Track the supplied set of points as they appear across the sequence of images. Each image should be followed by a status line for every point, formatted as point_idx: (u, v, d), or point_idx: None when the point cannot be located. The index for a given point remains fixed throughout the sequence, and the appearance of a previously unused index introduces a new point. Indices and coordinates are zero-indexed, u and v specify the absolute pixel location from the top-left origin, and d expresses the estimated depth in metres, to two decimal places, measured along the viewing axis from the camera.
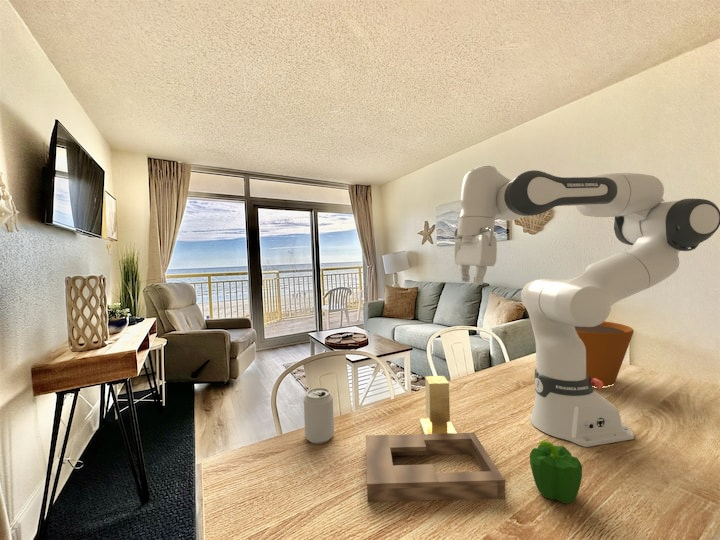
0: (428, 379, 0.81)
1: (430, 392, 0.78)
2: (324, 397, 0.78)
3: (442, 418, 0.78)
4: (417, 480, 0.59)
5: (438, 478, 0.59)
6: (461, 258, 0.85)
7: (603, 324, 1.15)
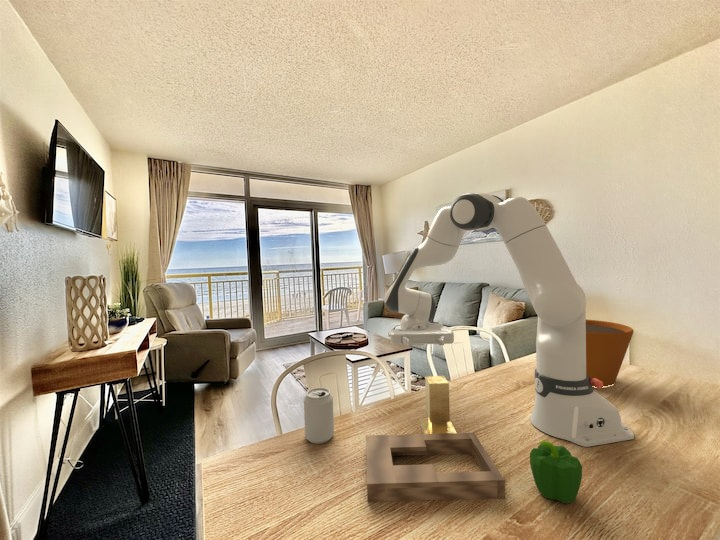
0: (428, 379, 0.81)
1: (430, 392, 0.78)
2: (324, 397, 0.78)
3: (442, 418, 0.78)
4: (417, 480, 0.59)
5: (438, 478, 0.59)
6: None
7: (603, 324, 1.15)
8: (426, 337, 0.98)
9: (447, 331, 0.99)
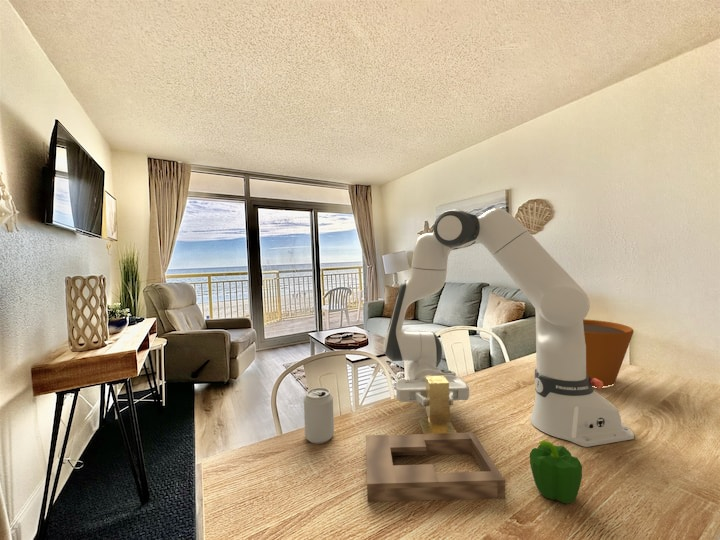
0: (428, 379, 0.81)
1: (430, 392, 0.78)
2: (324, 397, 0.78)
3: (442, 418, 0.78)
4: (417, 480, 0.59)
5: (438, 478, 0.59)
6: None
7: (603, 324, 1.15)
8: None
9: (461, 385, 0.86)
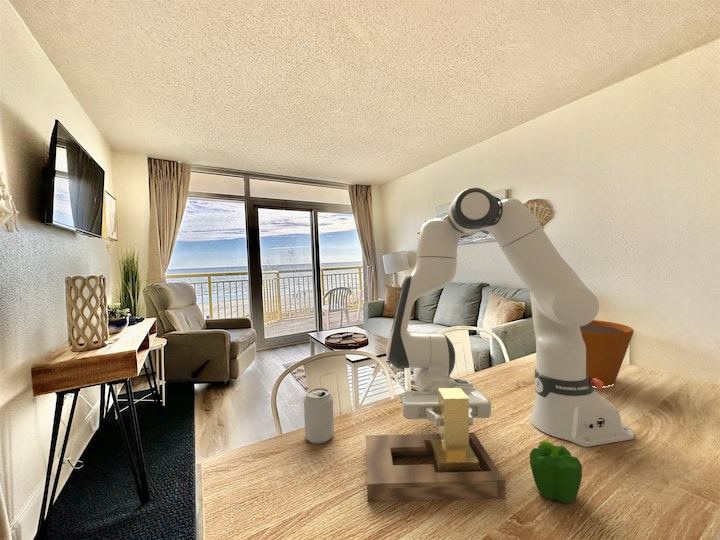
0: (442, 392, 0.66)
1: (445, 409, 0.63)
2: (324, 397, 0.78)
3: (459, 441, 0.63)
4: (417, 480, 0.59)
5: (438, 478, 0.59)
6: None
7: (603, 324, 1.15)
8: None
9: (481, 399, 0.71)
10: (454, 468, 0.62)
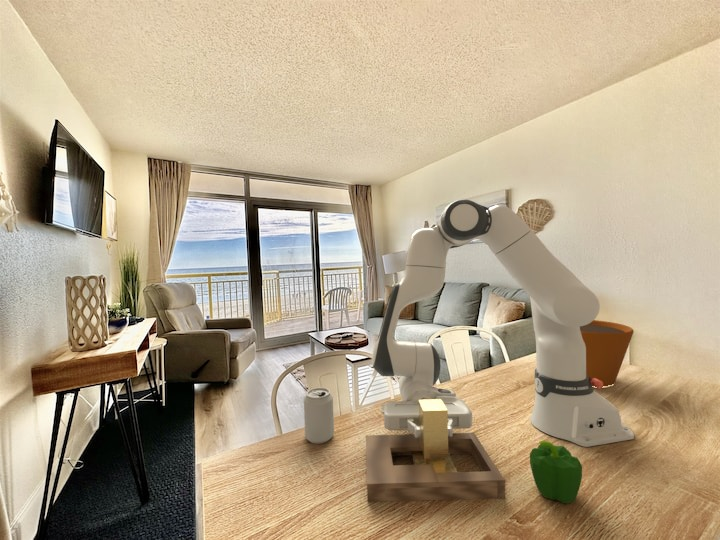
0: (422, 404, 0.66)
1: (424, 421, 0.63)
2: (324, 397, 0.78)
3: (439, 453, 0.64)
4: (417, 480, 0.59)
5: (438, 478, 0.59)
6: None
7: (603, 324, 1.15)
8: None
9: (463, 409, 0.71)
10: None
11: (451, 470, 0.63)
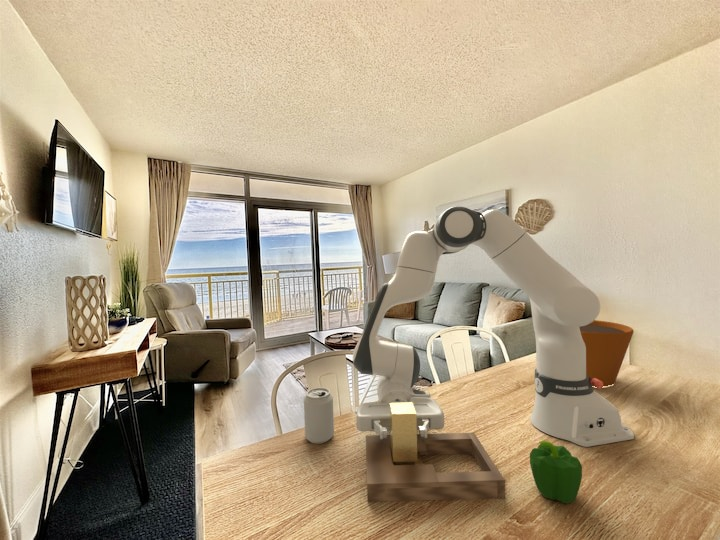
0: (392, 407, 0.66)
1: (393, 425, 0.63)
2: (324, 397, 0.78)
3: (408, 457, 0.64)
4: (417, 480, 0.59)
5: (438, 478, 0.59)
6: None
7: (603, 324, 1.15)
8: None
9: (435, 410, 0.71)
10: None
11: None
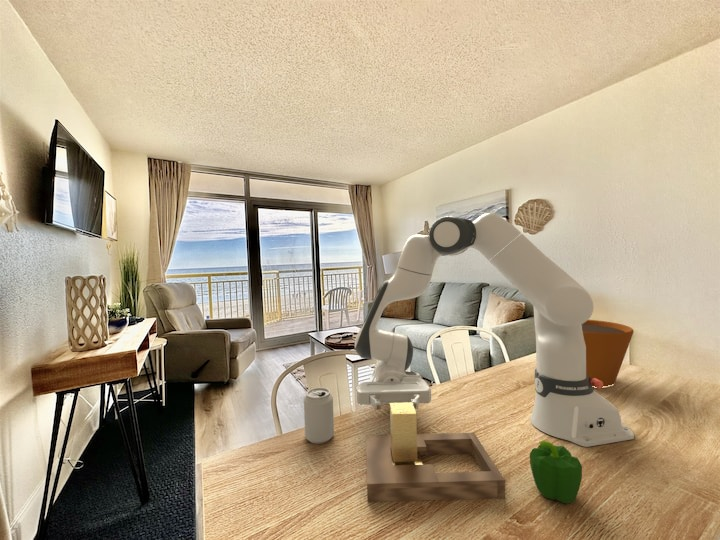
0: (392, 407, 0.66)
1: (393, 425, 0.63)
2: (324, 397, 0.78)
3: (408, 457, 0.64)
4: (417, 480, 0.59)
5: (438, 478, 0.59)
6: None
7: (603, 324, 1.15)
8: (398, 395, 0.83)
9: (423, 387, 0.84)
10: None
11: None
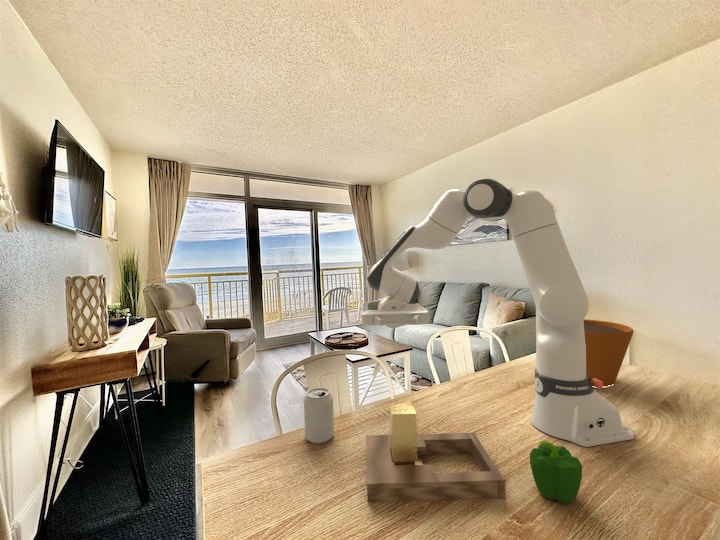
0: (392, 407, 0.66)
1: (393, 425, 0.63)
2: (324, 397, 0.78)
3: (408, 457, 0.64)
4: (417, 480, 0.59)
5: (438, 478, 0.59)
6: None
7: (603, 324, 1.15)
8: (400, 317, 0.92)
9: (422, 311, 0.93)
10: None
11: None
